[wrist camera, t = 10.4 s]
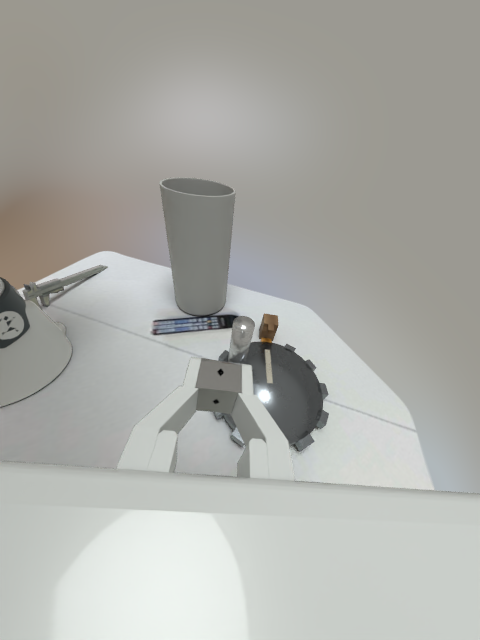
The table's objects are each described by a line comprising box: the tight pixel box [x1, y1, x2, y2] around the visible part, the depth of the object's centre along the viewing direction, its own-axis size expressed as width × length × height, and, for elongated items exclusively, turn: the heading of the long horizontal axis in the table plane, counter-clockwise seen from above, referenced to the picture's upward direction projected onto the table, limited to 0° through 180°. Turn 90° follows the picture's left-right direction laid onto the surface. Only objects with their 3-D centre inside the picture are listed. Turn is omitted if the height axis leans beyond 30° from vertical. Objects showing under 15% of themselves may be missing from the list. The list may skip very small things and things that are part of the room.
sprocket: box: [214, 316, 329, 452], centre depth 30 cm, size 20×20×13 cm
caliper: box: [23, 265, 107, 309], centre depth 46 cm, size 20×1×6 cm, turn 167°
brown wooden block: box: [259, 314, 278, 341], centre depth 42 cm, size 3×5×5 cm, turn 175°
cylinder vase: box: [160, 178, 236, 316], centre depth 41 cm, size 12×12×25 cm
